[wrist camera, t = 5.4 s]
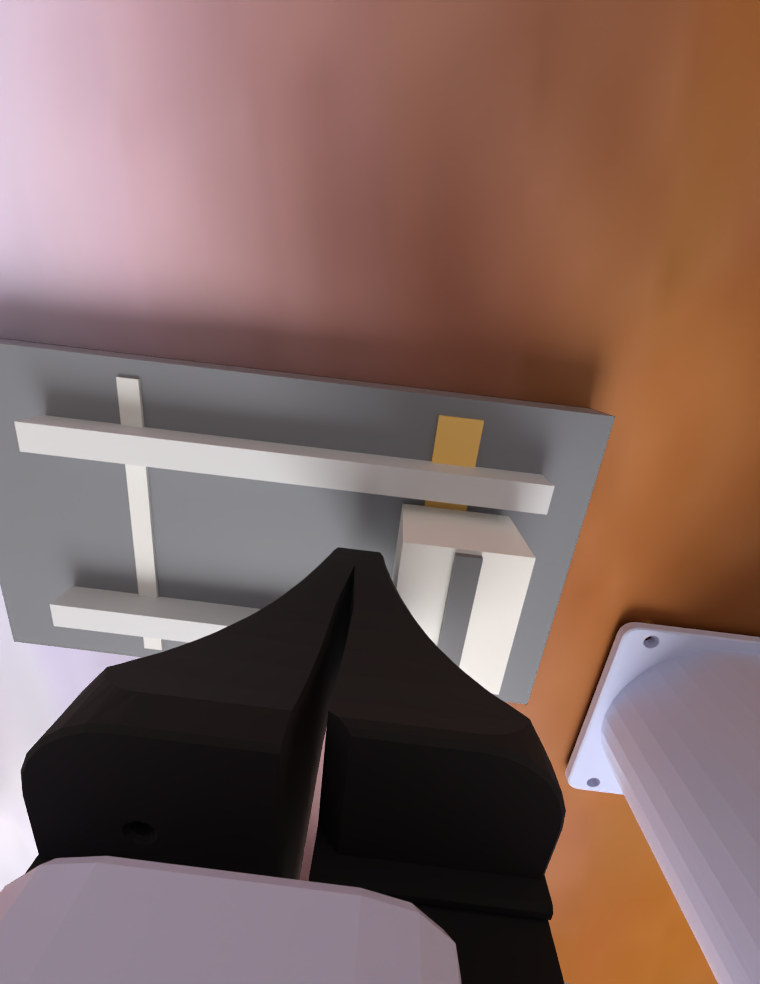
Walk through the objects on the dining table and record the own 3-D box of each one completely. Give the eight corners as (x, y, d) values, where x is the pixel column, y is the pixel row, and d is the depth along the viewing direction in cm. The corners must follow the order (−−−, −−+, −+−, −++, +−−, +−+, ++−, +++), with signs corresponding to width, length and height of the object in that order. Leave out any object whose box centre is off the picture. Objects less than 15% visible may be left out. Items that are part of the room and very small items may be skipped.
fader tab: (509, 516, 11) (537, 561, 9) (481, 633, 13) (500, 699, 10) (402, 503, 11) (403, 545, 9) (385, 621, 13) (382, 685, 10)
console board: (590, 408, 12) (635, 423, 10) (515, 671, 16) (536, 729, 13) (-6, 337, 12) (-102, 335, 10) (48, 614, 16) (-14, 662, 13)
